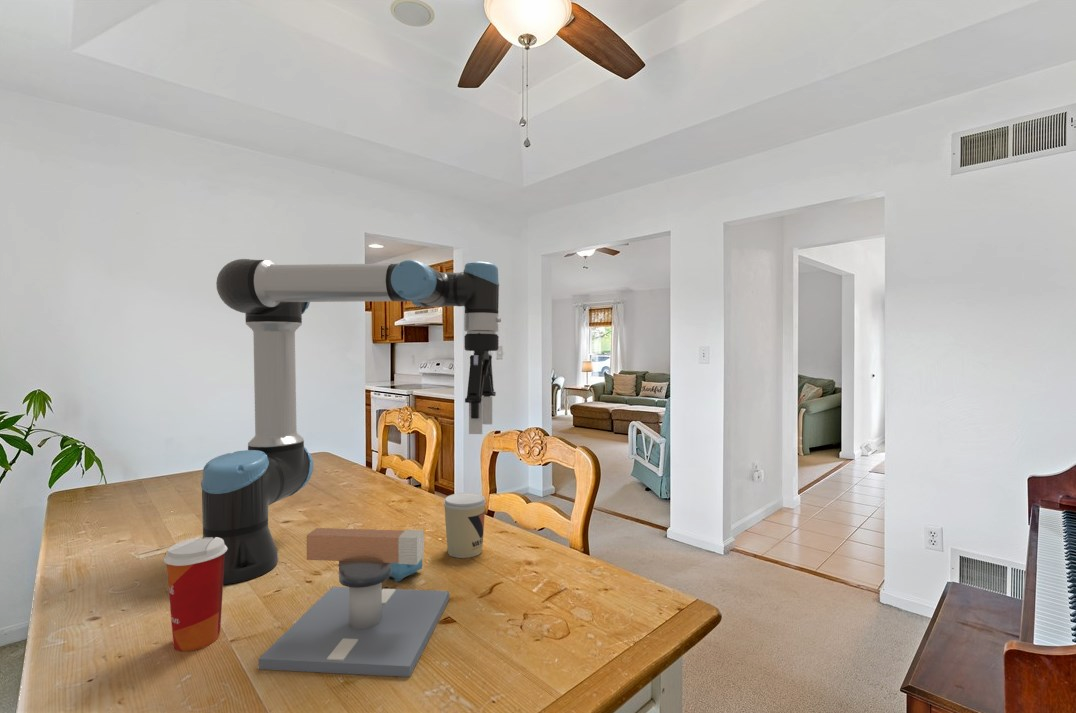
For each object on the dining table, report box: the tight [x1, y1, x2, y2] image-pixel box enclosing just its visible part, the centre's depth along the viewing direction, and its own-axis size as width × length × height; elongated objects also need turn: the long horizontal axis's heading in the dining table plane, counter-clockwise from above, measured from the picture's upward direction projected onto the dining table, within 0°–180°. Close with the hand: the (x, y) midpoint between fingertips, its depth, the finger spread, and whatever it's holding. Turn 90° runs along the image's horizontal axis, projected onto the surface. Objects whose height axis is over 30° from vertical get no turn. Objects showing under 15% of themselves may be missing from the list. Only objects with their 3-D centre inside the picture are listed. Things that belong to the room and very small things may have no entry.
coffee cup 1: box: [163, 537, 227, 652], centre depth 79 cm, size 8×8×15 cm
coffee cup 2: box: [443, 492, 487, 559], centre depth 115 cm, size 9×9×12 cm
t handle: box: [306, 527, 425, 588], centre depth 82 cm, size 18×8×7 cm, turn 86°
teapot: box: [389, 558, 423, 582], centre depth 102 cm, size 12×6×8 cm, turn 58°
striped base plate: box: [258, 582, 450, 678], centre depth 82 cm, size 22×22×8 cm
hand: (481, 428), depth 113 cm, fingers open, 13 cm apart
